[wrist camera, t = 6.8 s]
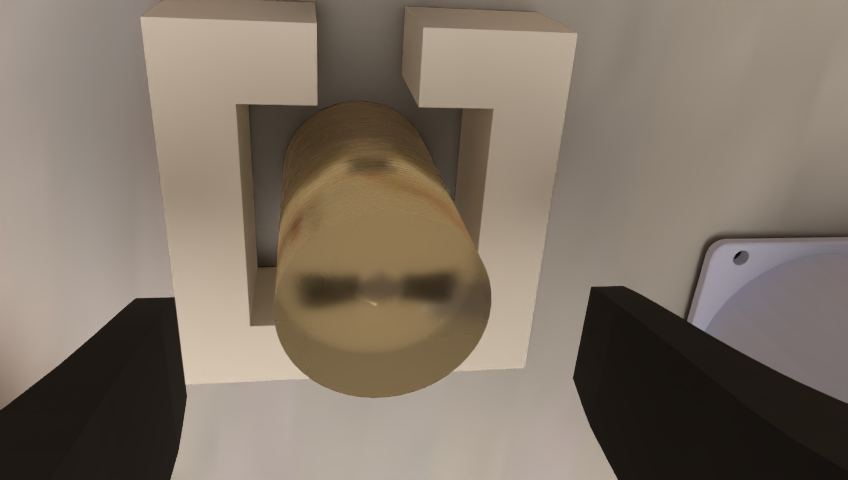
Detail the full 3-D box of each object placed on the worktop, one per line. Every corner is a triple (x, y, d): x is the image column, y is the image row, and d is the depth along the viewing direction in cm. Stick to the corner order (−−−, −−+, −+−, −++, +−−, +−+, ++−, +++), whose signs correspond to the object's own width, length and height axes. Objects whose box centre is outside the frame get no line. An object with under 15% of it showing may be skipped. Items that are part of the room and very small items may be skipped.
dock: (536, 11, 17) (578, 33, 15) (497, 309, 21) (524, 367, 19) (167, -4, 16) (140, 16, 13) (201, 319, 20) (185, 384, 17)
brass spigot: (439, 108, 18) (510, 219, 12) (419, 241, 20) (471, 398, 14) (287, 93, 17) (279, 204, 11) (280, 233, 19) (269, 397, 13)
